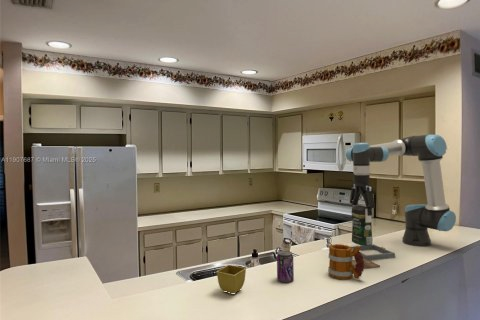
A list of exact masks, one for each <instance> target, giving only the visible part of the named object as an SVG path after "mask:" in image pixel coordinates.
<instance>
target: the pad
mask: <svg viewBox="0 0 480 320" xmlns="http://www.w3.org/2000/svg"><path fill="white" fill-rule="evenodd" d="M363 260H364V270H365V269H373V268H374V269H376V268H380V267H381V265H380V264H378V263H376V262H374V261H373V260H368V259H365V258H364V259H363ZM356 263H357V262H356V260H355V259H353V260H352V265H353V266H354V267H356Z"/></svg>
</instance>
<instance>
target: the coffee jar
mask: <svg viewBox="0 0 480 320" xmlns="http://www.w3.org/2000/svg"><path fill="white" fill-rule="evenodd" d="M365 208H366V205H359V204H358V206H353V205H352V207H351V218H352V219H351V221H352V224H351V225H352V226H351V227H352V229H351V242H352V243H353V244H356V245H357V246H358V245H359V246H370V245H372V244H373V240H374V239H373V231H372V230H373V227H372V221H371V222H368V223H366V222H365ZM372 219H373V215H372V216H371V220H372Z"/></svg>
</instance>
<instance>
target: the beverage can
mask: <svg viewBox="0 0 480 320" xmlns="http://www.w3.org/2000/svg"><path fill="white" fill-rule="evenodd" d="M294 267H295V266H294V255H293V252H292V251H289V250H278V252H277V255H276V277H277V278H276V279H277V280H278V281H279V282H281V281H282V282H281V283H291V282H293V281H294V279H295V275H294Z"/></svg>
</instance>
